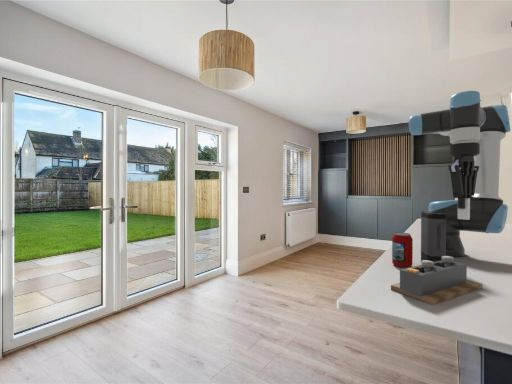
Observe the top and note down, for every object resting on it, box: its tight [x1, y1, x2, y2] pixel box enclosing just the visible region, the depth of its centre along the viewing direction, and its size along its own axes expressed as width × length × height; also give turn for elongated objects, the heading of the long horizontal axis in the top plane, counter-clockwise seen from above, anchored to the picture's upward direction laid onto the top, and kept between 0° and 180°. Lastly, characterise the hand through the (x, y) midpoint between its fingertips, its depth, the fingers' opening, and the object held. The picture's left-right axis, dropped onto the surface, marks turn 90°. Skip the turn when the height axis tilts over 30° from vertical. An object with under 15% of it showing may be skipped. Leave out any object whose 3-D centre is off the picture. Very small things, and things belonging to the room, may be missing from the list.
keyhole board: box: [390, 256, 483, 305], centre depth 82 cm, size 24×12×8 cm, turn 118°
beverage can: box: [391, 232, 414, 268], centre depth 106 cm, size 7×7×12 cm
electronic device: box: [420, 210, 446, 262], centre depth 104 cm, size 9×6×20 cm, turn 168°
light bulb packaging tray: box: [399, 260, 468, 297], centre depth 81 cm, size 22×6×6 cm, turn 118°
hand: (463, 219), depth 88 cm, fingers closed
